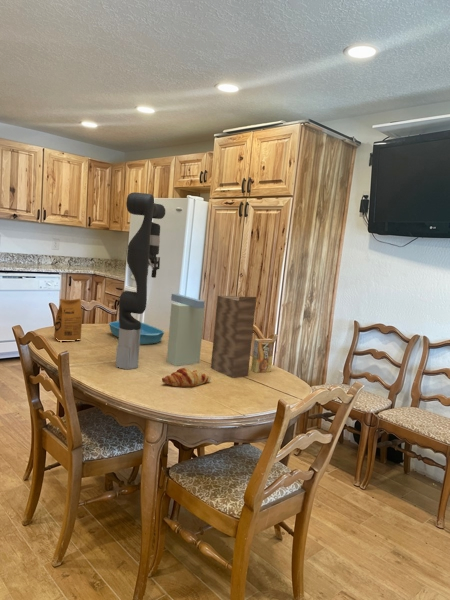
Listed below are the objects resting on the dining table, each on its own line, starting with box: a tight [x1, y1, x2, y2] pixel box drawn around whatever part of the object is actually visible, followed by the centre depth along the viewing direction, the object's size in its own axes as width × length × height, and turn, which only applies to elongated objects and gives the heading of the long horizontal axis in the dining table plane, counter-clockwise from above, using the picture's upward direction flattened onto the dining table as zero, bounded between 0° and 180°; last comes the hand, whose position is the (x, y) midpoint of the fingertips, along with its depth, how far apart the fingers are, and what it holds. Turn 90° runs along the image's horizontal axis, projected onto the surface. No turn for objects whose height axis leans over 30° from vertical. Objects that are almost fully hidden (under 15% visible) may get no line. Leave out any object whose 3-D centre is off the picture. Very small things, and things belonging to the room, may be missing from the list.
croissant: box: [161, 367, 212, 388], centre depth 172 cm, size 21×10×8 cm, turn 118°
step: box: [166, 302, 205, 367], centre depth 200 cm, size 7×14×28 cm, turn 129°
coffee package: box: [53, 298, 83, 340], centre depth 221 cm, size 10×12×22 cm
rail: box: [170, 293, 206, 309], centre depth 199 cm, size 23×3×3 cm, turn 39°
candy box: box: [250, 338, 275, 374], centre depth 199 cm, size 9×4×15 cm, turn 119°
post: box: [210, 295, 257, 379], centre depth 192 cm, size 16×9×36 cm, turn 39°
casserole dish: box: [108, 320, 165, 345], centre depth 241 cm, size 37×22×7 cm, turn 43°
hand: (149, 276), depth 215 cm, fingers open, 8 cm apart
